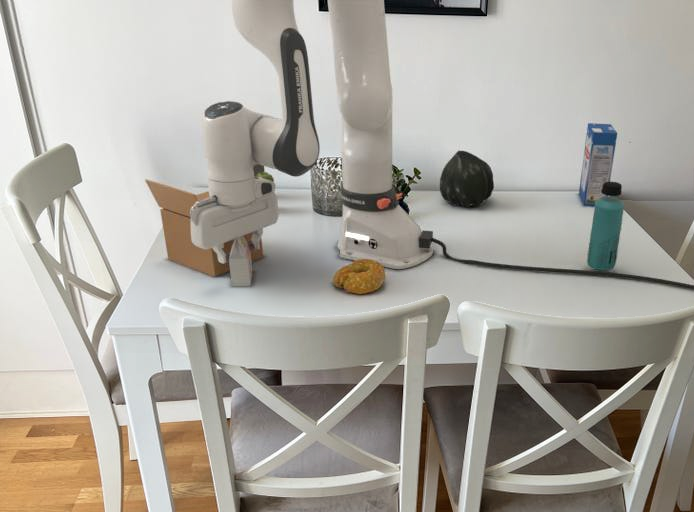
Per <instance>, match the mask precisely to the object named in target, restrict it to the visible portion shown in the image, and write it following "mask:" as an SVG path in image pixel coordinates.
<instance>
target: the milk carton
mask: <svg viewBox="0 0 694 512" xmlns="http://www.w3.org/2000/svg"><path fill="white" fill-rule="evenodd" d="M617 139H618V132H617V130H616V129H615V127H613V125H612V123H594V122H593V123H591V122H588V123H587V128H586V135H585V143H584V150H583V158H582V167H581V174H580V175H581V176H580V181H579V189H578V197H579V199H580V201H581V203H582V206H583V207H593V208H595V202H596V201H597V200H598V199H600V198H601V197H604V196H608V195H604V194H602V192H601V191H602V187H603V184H604V183H605V182H611V177H612V173H613V172H612V171H613V164H614V157H615V151H616V146H617V145H616V144H617Z"/></svg>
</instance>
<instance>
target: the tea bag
mask: <svg viewBox="0 0 694 512" xmlns="http://www.w3.org/2000/svg"><path fill="white" fill-rule="evenodd" d="M252 265H253V264H252V262H251V254H250V246H249V244H248V243H247V241H246V240H245V238H244V236H241V237H237V238H235V240H234V242H233V245H232V247H231V252H230V256H229V266H230V271H229V275H230V282H231V283H230V284H231V287H232V288H233V287H234V288H235V287H251V285H252V277H253V266H252Z"/></svg>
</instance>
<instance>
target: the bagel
mask: <svg viewBox="0 0 694 512" xmlns="http://www.w3.org/2000/svg"><path fill="white" fill-rule="evenodd" d="M386 273H387V272H386V270H385V267H383V265H381V264H380V263H379V262H377V261H374V260H370V259H361V260H356V261H352V263H350V264H346V265H344V266H342V267H340V268H339V269H338V270H337V271H336V272H335V273H334V275H333V277H332V282H333V285H334V286H335V287H337V288H340V289H344V290H345V291H346V292H347V293H353V294H356V295H365V294H368V293H372V292H374V291H376V290H378V289H379V288H381V286H382V285H383V284H384V283H385V280H386V277H387V274H386Z"/></svg>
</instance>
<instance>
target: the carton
mask: <svg viewBox="0 0 694 512" xmlns="http://www.w3.org/2000/svg"><path fill="white" fill-rule="evenodd" d="M195 196H196V198H197V200H198V201H199V200H203V199H206V198H208V197H210V195H209V190H208V191H204V192H202V193H199V194H195ZM159 211H160V217H161V223H162V229H163V236H164V241H165V248H166V254H167V259H168V261H171V262H174V263H175V264H176V263H177V264H179V265H182V266H184V267H187V268H190V269H193V270H194V271H199V272H200V273H203V274H205V275H208V276H211V277H213V278H217V277H219V276H221V275H224V274H226V273H228V272H229V273H230V266H229V261H228V262H226V263H224V264H223V263H220V262H219V261H218V256H217V254H216V252H215V251H214V250H213V249H212V248H209V249H202V248H199V247H197V246H195V245H194V244H193V243H192V240H191V217H188V216H185V215H182V214H179V213H176V212H173V211H170V210H167V209H164V208H161V209H159ZM252 234H253V232H251V233H249V234H246V235H243V236H244V238H245V240H246V241H247V243H248V242H249V241H251V238H252ZM234 240H235V239H233V240H230V241H228V242H225V243H223V244H224V248H222V250H223V251H224V252H225V253H228V254H229V256H230V252H231V247H232V245H233V242H234ZM259 244H260V249H258V250H256V251H253V250H250V254H251V263H252V262H254V261H257V260H260V259H261V258H264V250H263V238H262V237H261V239H260V242H259Z"/></svg>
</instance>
